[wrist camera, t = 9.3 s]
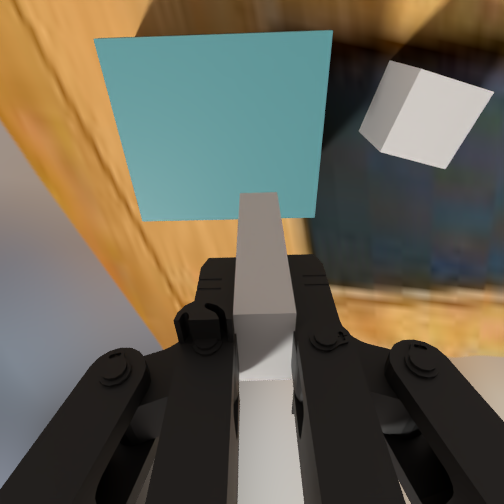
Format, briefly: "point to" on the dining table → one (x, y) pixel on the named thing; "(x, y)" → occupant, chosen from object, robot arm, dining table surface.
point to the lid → (219, 119)
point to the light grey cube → (422, 114)
